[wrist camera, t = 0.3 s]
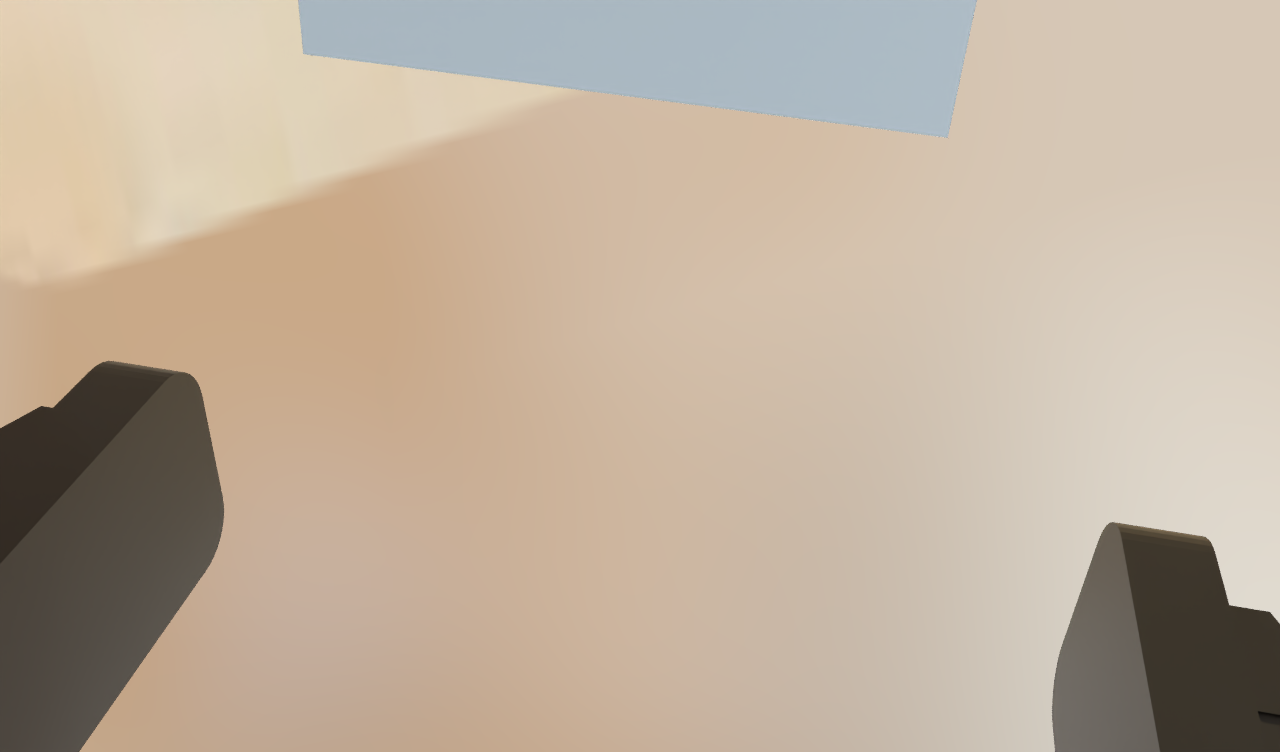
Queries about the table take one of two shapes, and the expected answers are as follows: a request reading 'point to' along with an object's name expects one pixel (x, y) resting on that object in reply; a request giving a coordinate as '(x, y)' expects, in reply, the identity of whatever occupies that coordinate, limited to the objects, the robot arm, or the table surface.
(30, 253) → the table surface
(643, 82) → the lid
